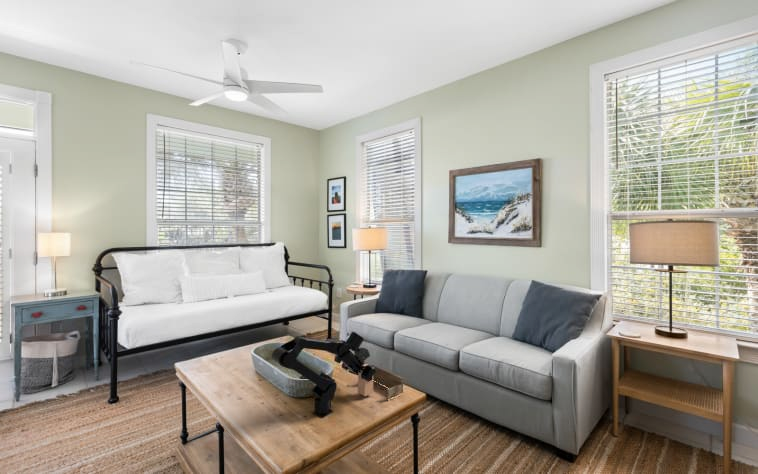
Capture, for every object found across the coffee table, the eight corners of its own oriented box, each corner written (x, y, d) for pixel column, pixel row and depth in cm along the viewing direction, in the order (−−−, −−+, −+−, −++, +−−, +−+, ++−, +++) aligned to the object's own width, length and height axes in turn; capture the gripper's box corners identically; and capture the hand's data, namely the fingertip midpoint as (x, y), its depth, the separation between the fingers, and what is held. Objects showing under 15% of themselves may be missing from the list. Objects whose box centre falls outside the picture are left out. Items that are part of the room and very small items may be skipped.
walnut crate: (388, 401, 157) (388, 383, 157) (358, 385, 173) (359, 369, 173) (402, 395, 164) (403, 377, 163) (373, 380, 179) (373, 364, 179)
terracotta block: (364, 396, 159) (365, 369, 158) (357, 392, 162) (358, 366, 162) (373, 393, 162) (373, 367, 162) (366, 389, 166) (366, 363, 166)
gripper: (373, 349, 152) (391, 368, 160) (347, 339, 166) (364, 357, 174) (358, 371, 147) (377, 390, 155) (333, 359, 161) (351, 377, 168)
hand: (368, 377), depth 163 cm, fingers closed on terracotta block, 5 cm apart
